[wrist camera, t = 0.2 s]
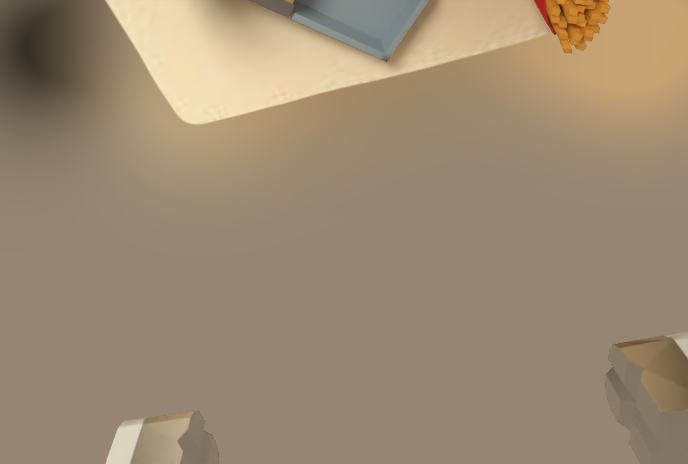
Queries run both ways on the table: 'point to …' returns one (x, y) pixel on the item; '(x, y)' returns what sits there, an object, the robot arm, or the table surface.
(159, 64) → the table surface
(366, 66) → the table surface
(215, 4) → the table surface
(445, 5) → the table surface
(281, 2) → the slot bed
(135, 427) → the robot arm
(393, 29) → the tray
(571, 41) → the french fries
